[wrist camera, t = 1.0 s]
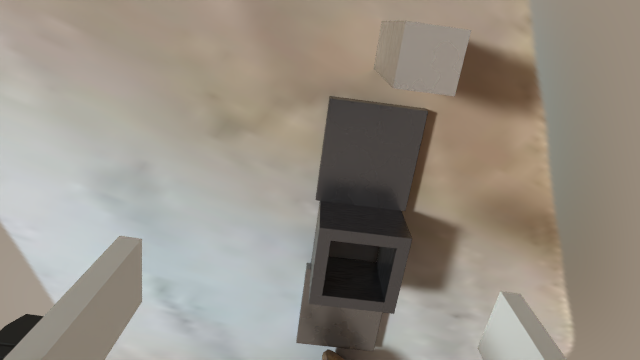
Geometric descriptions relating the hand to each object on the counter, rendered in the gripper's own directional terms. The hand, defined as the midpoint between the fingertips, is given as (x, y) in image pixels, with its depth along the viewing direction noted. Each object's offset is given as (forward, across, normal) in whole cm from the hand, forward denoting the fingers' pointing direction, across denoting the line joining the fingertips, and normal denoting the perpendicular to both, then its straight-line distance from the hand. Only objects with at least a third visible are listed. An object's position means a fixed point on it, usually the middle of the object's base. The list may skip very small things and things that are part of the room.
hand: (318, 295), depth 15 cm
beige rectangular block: (+21, +5, +8) cm, 23 cm away
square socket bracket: (+21, +4, -9) cm, 23 cm away
